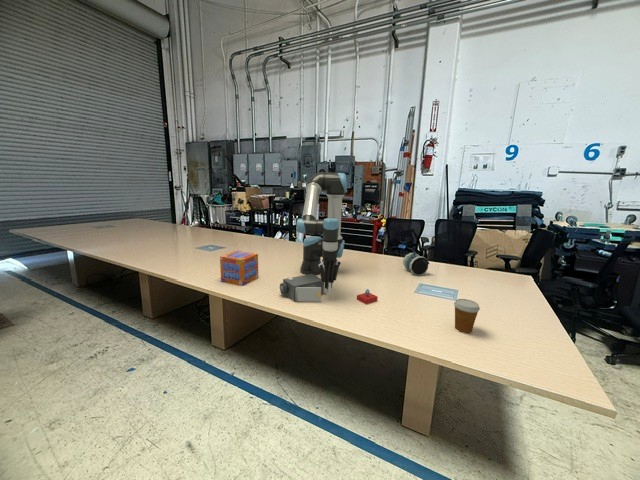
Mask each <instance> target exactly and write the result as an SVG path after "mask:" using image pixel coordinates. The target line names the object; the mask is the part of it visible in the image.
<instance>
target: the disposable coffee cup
mask: <svg viewBox="0 0 640 480" xmlns="http://www.w3.org/2000/svg"><path fill="white" fill-rule="evenodd" d="M453 306H454V329H455V328H456V329H457V330H459V331H461V332H460V333H462V332H465V333H464V334H471V333H472V331H473V328H474V325H475V322H476V319H477V316H478V313H479V311H480V310H481V309H480V308H481V307H480V305H479V303H478V302H476V301H473V300H472V299H468V298H457V299H456V300H455V301H454V303H453ZM456 329H455V330H456ZM457 330H456V331H457ZM459 331H458V332H459ZM470 332H471V333H470Z"/></svg>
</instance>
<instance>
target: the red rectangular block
mask: <svg viewBox="0 0 640 480" xmlns="http://www.w3.org/2000/svg"><path fill="white" fill-rule="evenodd" d="M378 299H379V298H378V295H375V294H373V293H371V291H370V289H368V288H366V289H365V292H364V293H359V294H357V295H356V300H357V301H358V302H360V303H363V304H364V305H370V304H372V303H375V302H378Z"/></svg>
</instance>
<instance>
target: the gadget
mask: <svg viewBox="0 0 640 480" xmlns="http://www.w3.org/2000/svg"><path fill="white" fill-rule="evenodd" d="M429 264H430V261H429V259H427V258H426V257H424V256H422V255H421V256H420V255H419V254H418V253H417V252H416V251H413V252H409V253H408V254H405V256H404V257H403V259H402V265H403V266H404V268H405V270H407V271H409V272H411V273H412V274H413V275H415V276H422V275H424V274H425V273H426V272H427V271H428V269H429Z"/></svg>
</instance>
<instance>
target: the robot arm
mask: <svg viewBox="0 0 640 480" xmlns="http://www.w3.org/2000/svg"><path fill="white" fill-rule="evenodd" d="M305 191H306V194H305V200H304V207H303V211H302V216H301V218H298V219H297V221H296V232H297V233H298V234H311V235H313V234H315V235H322V237H321V236H309V237H306V238H304V239H303V245H302V253H303V254H302V262H301V265H300V269H299V271H300V273H301V274H303V275H308V274H313V275H315V276H317V275H318V276H319V275H320V278H321V280H322V281H323V282H324V289H325V294H326V295H327V296H331V294H332V288H333V283H334V282H335V281H336V280H337V277H338V273H339V269H340V268H339V267H340V265H341V264H342V263H341V262H340V261H339V260H338V259H339V258H342V257H343V253H344V249H345V240H344V239H343V236H342V234H341V228H342V227H341V226H342V211H343V210H342V208H343V207H342V206H343V205H342V204H343V198H344V197H345V195H346V193H347V192H348V183H347V175H346V173H344V172H323V171H321V172H317V173H315V174H314V175H312V176H311V177H310V178H309V179H308V181H307V183H306V185H305ZM322 192H325V195H326V197H327V198H328V200H327V201H328V202H327V203H328V204H327V218H324V219H317V214H318V213H317V212H318V208H319V207H318V206H319V198H320V195H321V193H322ZM321 258H322V260H321Z"/></svg>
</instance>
